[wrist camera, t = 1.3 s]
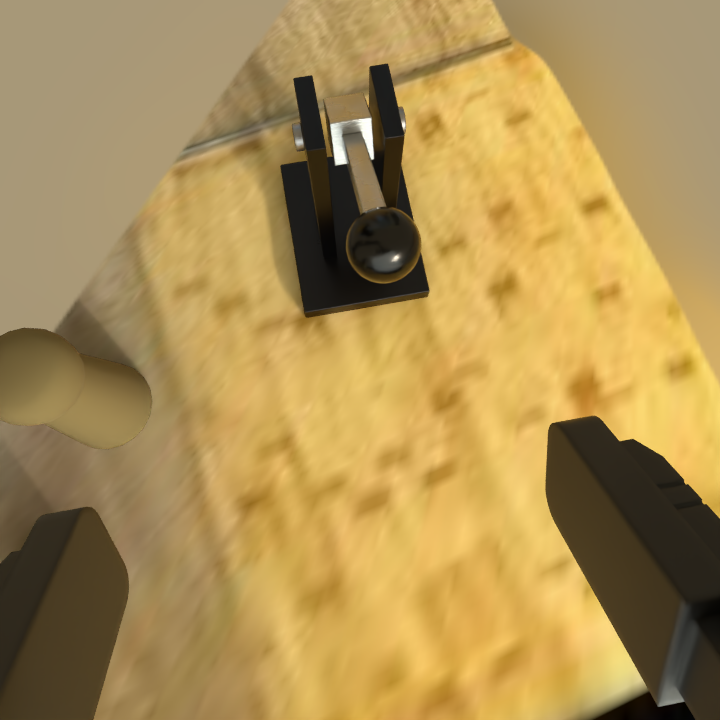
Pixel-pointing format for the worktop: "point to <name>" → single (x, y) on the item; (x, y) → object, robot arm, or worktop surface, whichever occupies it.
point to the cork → (70, 390)
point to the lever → (369, 197)
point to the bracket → (344, 204)
